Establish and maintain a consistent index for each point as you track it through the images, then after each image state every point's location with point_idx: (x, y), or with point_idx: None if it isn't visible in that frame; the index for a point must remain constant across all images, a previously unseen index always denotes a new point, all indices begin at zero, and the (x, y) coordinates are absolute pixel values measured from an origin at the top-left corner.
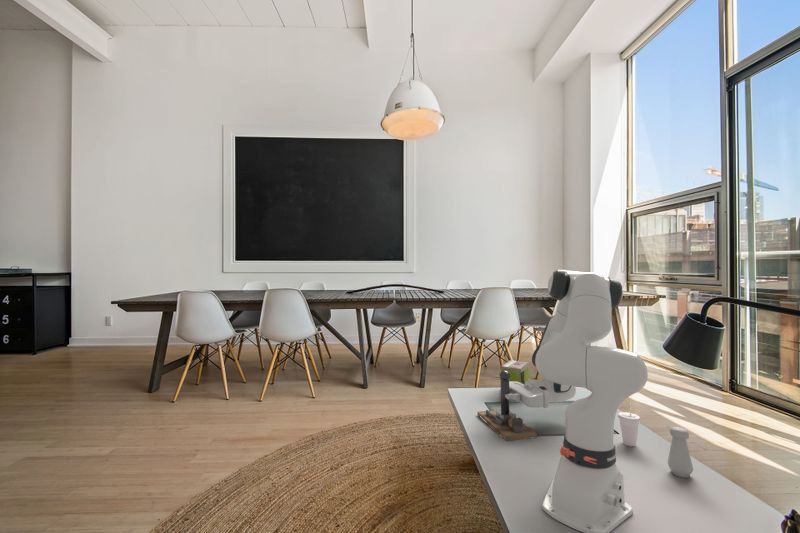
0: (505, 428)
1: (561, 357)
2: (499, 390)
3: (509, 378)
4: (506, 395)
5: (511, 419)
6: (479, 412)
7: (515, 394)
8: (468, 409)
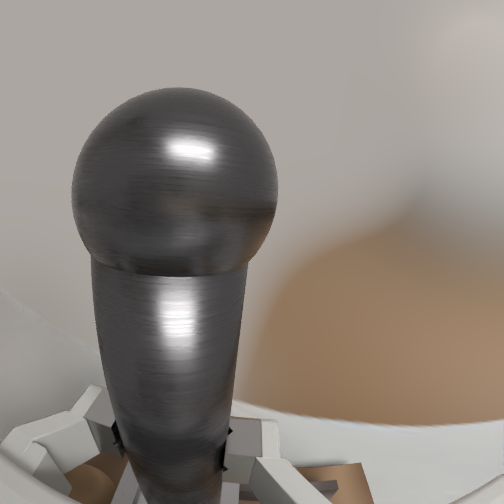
0: (116, 473)
1: None
2: (267, 419)
3: (75, 221)
4: (104, 390)
5: (82, 467)
6: (352, 468)
7: (28, 425)
8: (418, 451)
